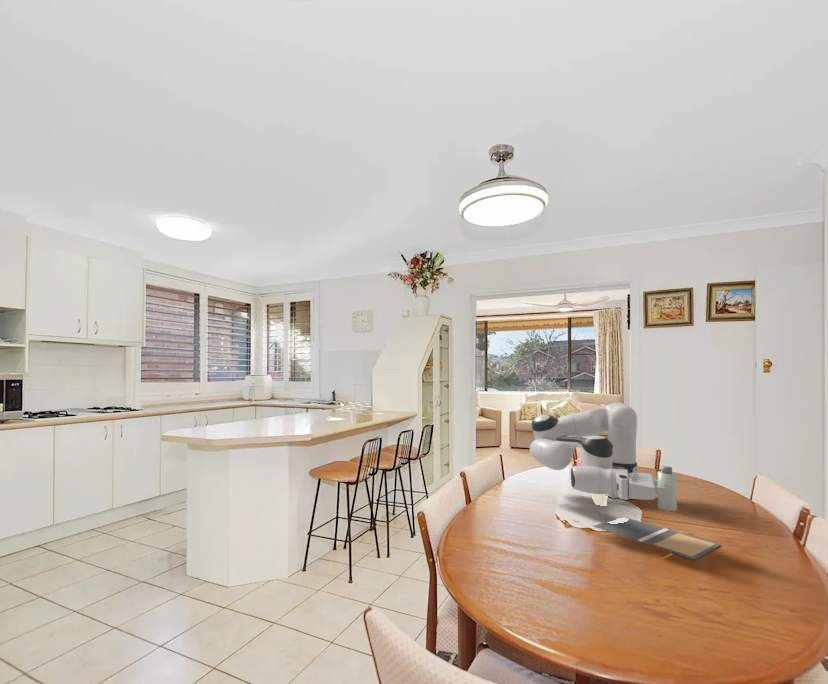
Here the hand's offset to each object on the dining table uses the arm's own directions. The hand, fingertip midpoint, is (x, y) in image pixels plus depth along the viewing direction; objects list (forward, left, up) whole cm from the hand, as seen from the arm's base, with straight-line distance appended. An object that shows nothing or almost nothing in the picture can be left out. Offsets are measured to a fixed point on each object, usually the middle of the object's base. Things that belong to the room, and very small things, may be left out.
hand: (670, 488), depth 144 cm
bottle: (-1, 0, -6) cm, 6 cm away
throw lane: (-6, +1, -17) cm, 18 cm away
